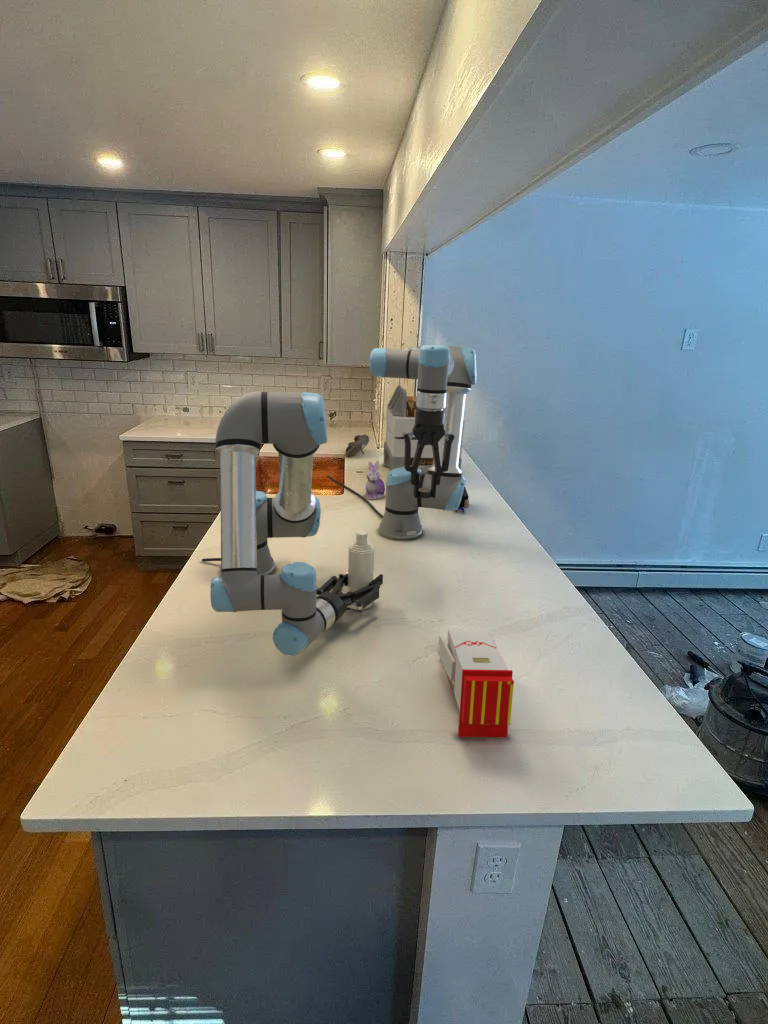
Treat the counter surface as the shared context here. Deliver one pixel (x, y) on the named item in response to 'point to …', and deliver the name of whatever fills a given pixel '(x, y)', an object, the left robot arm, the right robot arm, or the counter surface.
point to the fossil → (357, 445)
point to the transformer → (401, 421)
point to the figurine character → (464, 501)
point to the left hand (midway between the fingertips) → (369, 575)
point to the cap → (424, 493)
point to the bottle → (360, 563)
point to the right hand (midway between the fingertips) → (424, 496)
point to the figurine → (374, 483)
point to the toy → (478, 682)
